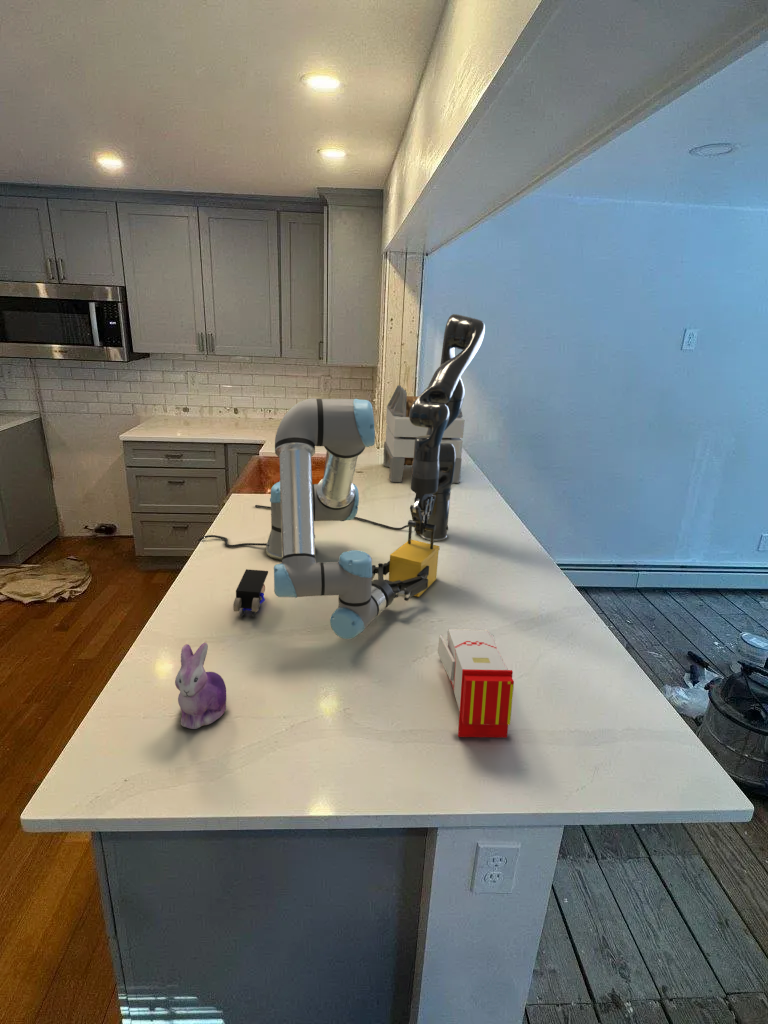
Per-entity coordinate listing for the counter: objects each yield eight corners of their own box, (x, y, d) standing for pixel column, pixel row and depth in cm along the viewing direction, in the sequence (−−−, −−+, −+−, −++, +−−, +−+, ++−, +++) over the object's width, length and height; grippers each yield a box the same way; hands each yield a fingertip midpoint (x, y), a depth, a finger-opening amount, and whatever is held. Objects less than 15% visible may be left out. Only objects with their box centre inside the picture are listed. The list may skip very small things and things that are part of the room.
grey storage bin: (382, 463, 289) (386, 382, 275) (445, 464, 293) (451, 384, 279) (390, 482, 257) (394, 392, 243) (460, 483, 261) (468, 394, 247)
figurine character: (260, 625, 142) (270, 591, 155) (258, 600, 138) (268, 567, 152) (233, 624, 141) (245, 590, 155) (230, 599, 138) (243, 567, 152)
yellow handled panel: (409, 543, 169) (411, 516, 166) (439, 550, 165) (441, 522, 162) (389, 559, 157) (391, 530, 154) (421, 566, 153) (423, 537, 151)
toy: (488, 613, 130) (523, 677, 101) (484, 667, 133) (517, 744, 104) (435, 612, 130) (455, 676, 101) (432, 666, 133) (451, 743, 103)
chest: (407, 571, 171) (408, 544, 168) (436, 579, 167) (438, 551, 164) (388, 588, 160) (389, 559, 157) (418, 597, 157) (421, 567, 153)
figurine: (182, 738, 102) (175, 668, 97) (173, 704, 111) (167, 638, 106) (234, 723, 106) (231, 655, 101) (222, 691, 115) (218, 627, 110)
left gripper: (335, 600, 147) (375, 569, 166) (413, 624, 138) (446, 587, 157) (335, 574, 144) (376, 545, 163) (415, 596, 135) (448, 562, 154)
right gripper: (428, 482, 149) (423, 543, 155) (446, 470, 161) (442, 527, 167) (402, 477, 152) (399, 537, 158) (422, 466, 164) (418, 522, 170)
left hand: (410, 566), depth 160 cm, fingers closed on chest, 9 cm apart
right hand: (421, 532), depth 162 cm, fingers closed on yellow handled panel, 2 cm apart
